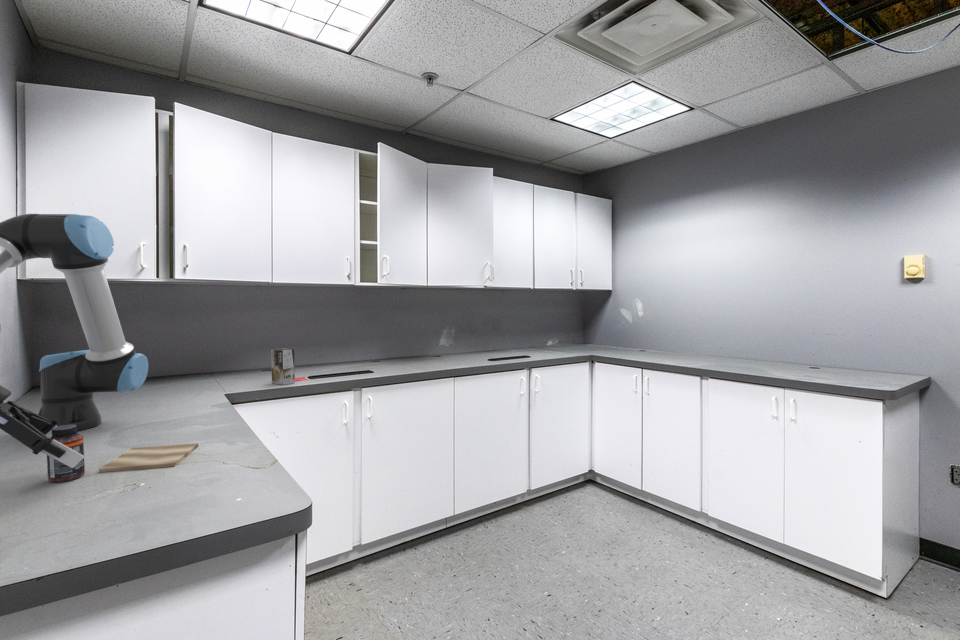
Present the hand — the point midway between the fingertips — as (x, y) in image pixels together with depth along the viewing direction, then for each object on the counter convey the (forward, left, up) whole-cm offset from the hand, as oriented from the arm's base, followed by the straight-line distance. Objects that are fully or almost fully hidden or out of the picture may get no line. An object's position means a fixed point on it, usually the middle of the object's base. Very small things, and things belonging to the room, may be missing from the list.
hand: (78, 454), depth 99 cm
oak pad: (-9, +11, -5) cm, 14 cm away
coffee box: (-110, +23, -5) cm, 113 cm away
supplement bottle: (+1, -2, -5) cm, 5 cm away
